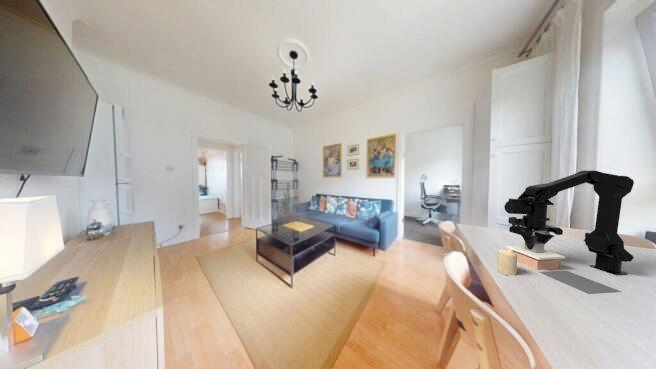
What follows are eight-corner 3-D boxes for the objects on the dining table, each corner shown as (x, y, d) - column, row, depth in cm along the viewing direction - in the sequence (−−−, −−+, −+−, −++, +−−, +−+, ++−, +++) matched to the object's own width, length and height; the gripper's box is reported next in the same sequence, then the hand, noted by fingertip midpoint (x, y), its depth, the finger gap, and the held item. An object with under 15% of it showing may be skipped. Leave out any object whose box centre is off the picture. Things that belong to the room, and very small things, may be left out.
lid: (529, 246, 84) (529, 236, 83) (565, 258, 72) (565, 247, 72) (506, 247, 83) (507, 237, 83) (538, 259, 71) (539, 248, 71)
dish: (529, 258, 83) (529, 249, 83) (558, 270, 73) (559, 259, 73) (510, 259, 82) (510, 250, 82) (536, 271, 72) (537, 260, 72)
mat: (566, 271, 72) (566, 270, 72) (622, 293, 59) (622, 291, 59) (538, 273, 71) (538, 272, 71) (588, 295, 58) (588, 294, 58)
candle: (520, 277, 68) (521, 252, 67) (503, 276, 69) (505, 251, 68) (508, 270, 73) (510, 246, 73) (493, 268, 74) (494, 245, 74)
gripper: (532, 210, 85) (530, 241, 86) (497, 211, 84) (495, 242, 85) (565, 215, 74) (562, 251, 75) (525, 216, 72) (523, 253, 73)
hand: (533, 249), depth 77 cm, fingers closed on lid, 4 cm apart
